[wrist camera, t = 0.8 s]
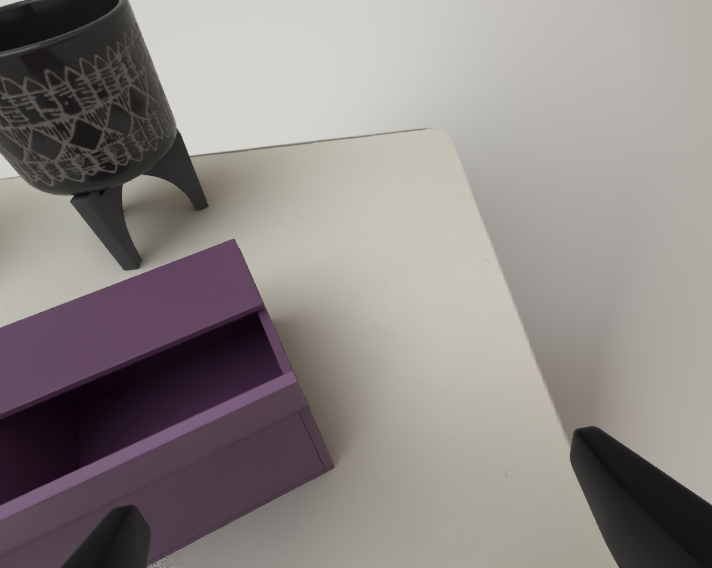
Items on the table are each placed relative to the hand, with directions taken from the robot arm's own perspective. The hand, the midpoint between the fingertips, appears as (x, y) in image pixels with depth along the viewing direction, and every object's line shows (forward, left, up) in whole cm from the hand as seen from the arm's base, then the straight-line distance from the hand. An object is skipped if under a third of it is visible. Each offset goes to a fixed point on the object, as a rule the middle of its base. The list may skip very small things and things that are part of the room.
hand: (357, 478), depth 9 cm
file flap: (+1, +9, -5) cm, 10 cm away
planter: (+27, +23, -16) cm, 39 cm away
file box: (+7, +12, -16) cm, 21 cm away
